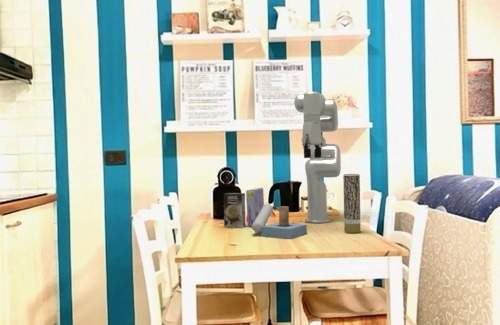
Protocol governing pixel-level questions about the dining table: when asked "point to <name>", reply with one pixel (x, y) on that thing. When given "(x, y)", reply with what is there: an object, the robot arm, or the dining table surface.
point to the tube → (262, 217)
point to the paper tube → (351, 203)
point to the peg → (283, 216)
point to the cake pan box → (254, 204)
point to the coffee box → (234, 210)
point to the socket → (284, 230)
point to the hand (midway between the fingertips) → (312, 157)
